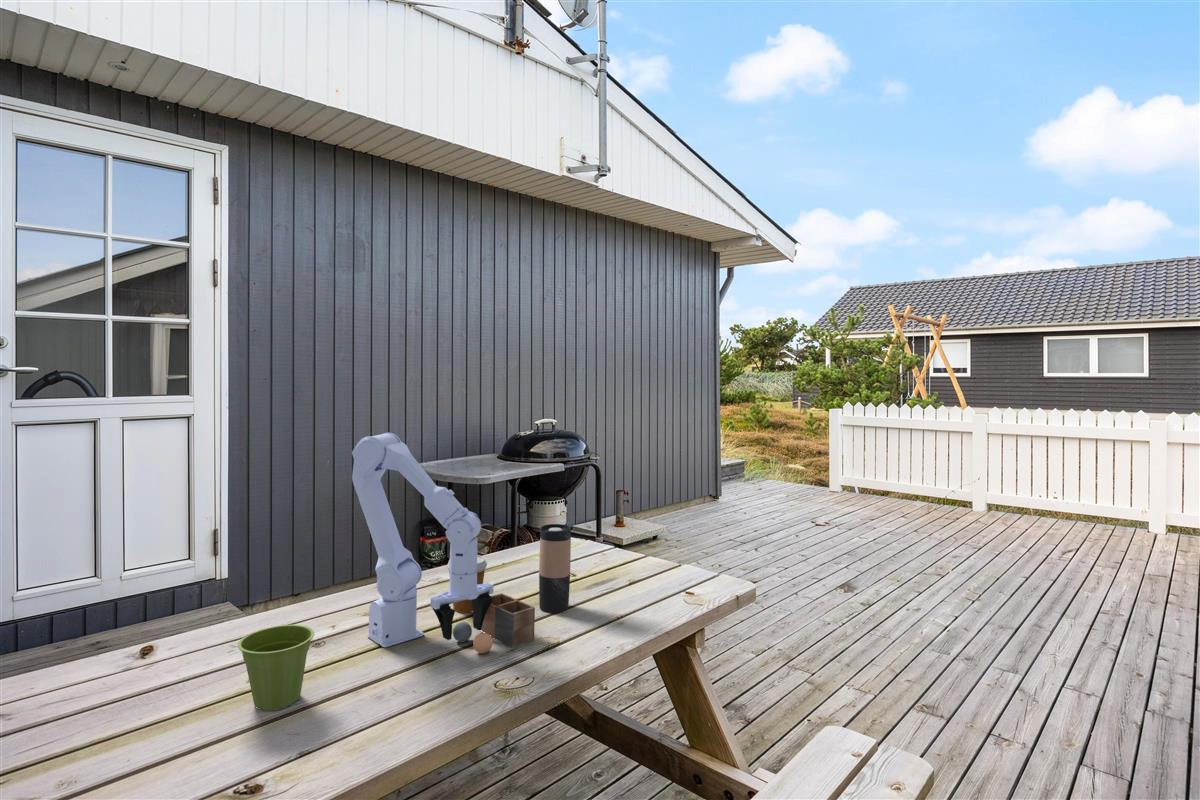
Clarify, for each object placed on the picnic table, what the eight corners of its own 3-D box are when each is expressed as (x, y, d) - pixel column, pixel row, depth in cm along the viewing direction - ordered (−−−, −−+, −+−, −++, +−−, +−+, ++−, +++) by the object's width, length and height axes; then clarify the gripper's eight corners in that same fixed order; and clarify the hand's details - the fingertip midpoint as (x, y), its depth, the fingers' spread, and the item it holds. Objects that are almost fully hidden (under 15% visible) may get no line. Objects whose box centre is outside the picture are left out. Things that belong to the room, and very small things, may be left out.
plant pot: (294, 678, 121) (294, 618, 120) (326, 700, 113) (327, 636, 113) (225, 702, 112) (225, 638, 111) (255, 727, 104) (256, 659, 103)
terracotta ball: (480, 658, 131) (480, 639, 130) (469, 652, 133) (469, 633, 133) (496, 652, 134) (496, 633, 133) (485, 646, 136) (485, 628, 136)
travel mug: (571, 603, 163) (573, 524, 162) (566, 614, 155) (568, 532, 154) (541, 601, 164) (543, 523, 163) (535, 612, 156) (537, 530, 155)
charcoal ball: (459, 646, 136) (459, 628, 136) (449, 640, 139) (449, 622, 139) (475, 641, 139) (475, 623, 139) (464, 635, 142) (465, 617, 141)
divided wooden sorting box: (511, 647, 136) (512, 614, 136) (478, 630, 145) (479, 599, 144) (534, 639, 141) (534, 607, 140) (500, 623, 149) (501, 593, 149)
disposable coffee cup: (464, 618, 151) (465, 568, 151) (438, 608, 157) (438, 559, 156) (494, 607, 159) (495, 559, 158) (468, 598, 164) (469, 551, 164)
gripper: (444, 582, 130) (443, 649, 131) (502, 568, 140) (501, 629, 141) (425, 574, 135) (424, 638, 136) (483, 561, 145) (482, 620, 146)
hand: (462, 633), depth 139 cm, fingers open, 7 cm apart
